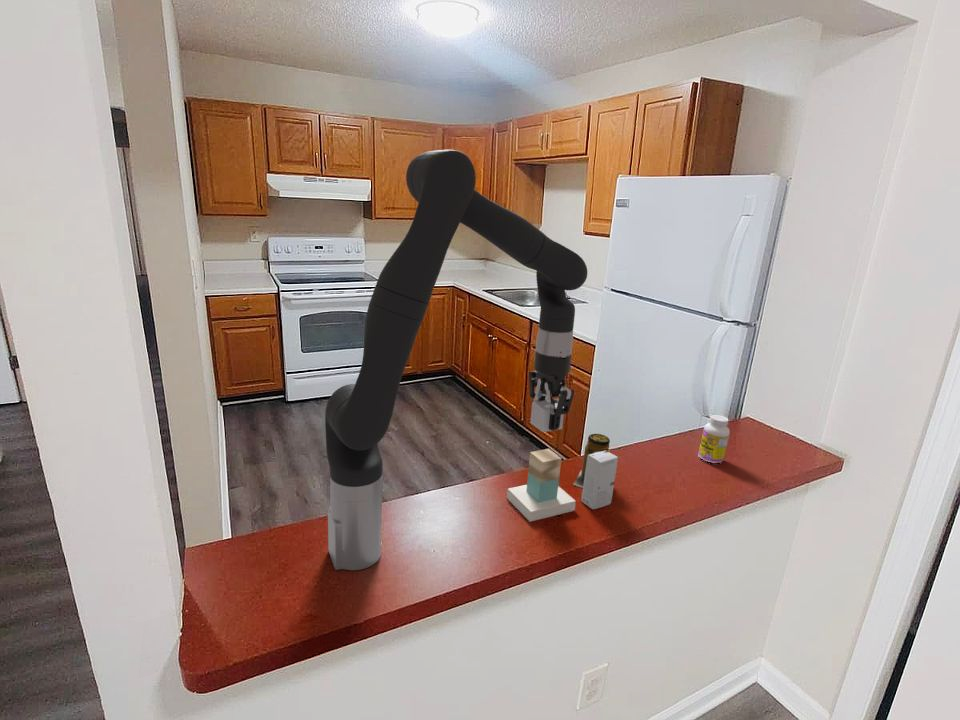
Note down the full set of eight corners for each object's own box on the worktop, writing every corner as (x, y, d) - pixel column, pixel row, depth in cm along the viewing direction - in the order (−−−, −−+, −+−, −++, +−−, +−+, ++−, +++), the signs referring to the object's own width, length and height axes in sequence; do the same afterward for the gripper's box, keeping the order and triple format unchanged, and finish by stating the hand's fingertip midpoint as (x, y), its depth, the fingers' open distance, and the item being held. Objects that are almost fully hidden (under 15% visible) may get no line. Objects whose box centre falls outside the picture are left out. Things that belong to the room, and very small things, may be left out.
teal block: (538, 502, 117) (540, 482, 116) (526, 491, 121) (528, 471, 120) (556, 498, 119) (559, 478, 118) (544, 487, 123) (546, 468, 122)
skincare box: (593, 510, 120) (600, 463, 116) (579, 501, 124) (586, 454, 120) (612, 503, 123) (619, 457, 120) (598, 494, 127) (605, 449, 123)
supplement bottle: (692, 454, 151) (701, 413, 148) (711, 453, 153) (720, 412, 150) (708, 466, 145) (718, 423, 142) (728, 464, 147) (738, 422, 144)
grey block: (542, 432, 112) (544, 410, 110) (530, 423, 116) (532, 401, 114) (562, 428, 114) (564, 407, 112) (549, 419, 118) (551, 399, 117)
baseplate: (529, 521, 114) (530, 511, 113) (506, 498, 122) (507, 488, 122) (574, 510, 120) (575, 500, 119) (549, 488, 128) (550, 479, 127)
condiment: (608, 478, 135) (615, 435, 131) (602, 493, 127) (609, 449, 124) (580, 471, 138) (586, 429, 134) (572, 485, 130) (579, 441, 127)
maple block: (540, 482, 116) (542, 462, 114) (528, 471, 120) (530, 452, 118) (559, 478, 118) (561, 458, 116) (546, 468, 122) (548, 448, 121)
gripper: (520, 341, 114) (514, 414, 119) (558, 361, 102) (550, 441, 107) (549, 339, 117) (542, 409, 123) (589, 358, 105) (580, 435, 110)
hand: (546, 423), depth 115 cm, fingers closed on grey block, 5 cm apart
